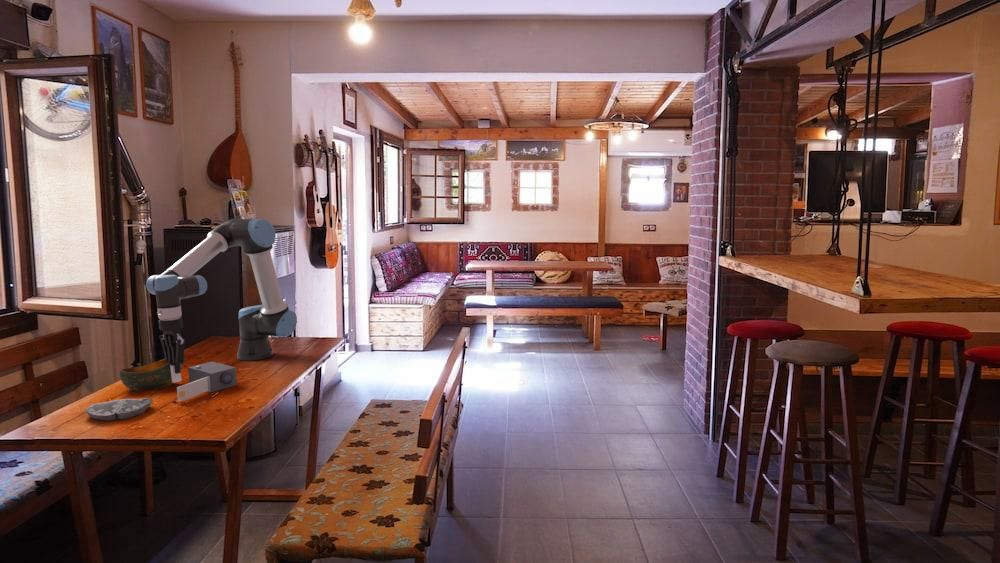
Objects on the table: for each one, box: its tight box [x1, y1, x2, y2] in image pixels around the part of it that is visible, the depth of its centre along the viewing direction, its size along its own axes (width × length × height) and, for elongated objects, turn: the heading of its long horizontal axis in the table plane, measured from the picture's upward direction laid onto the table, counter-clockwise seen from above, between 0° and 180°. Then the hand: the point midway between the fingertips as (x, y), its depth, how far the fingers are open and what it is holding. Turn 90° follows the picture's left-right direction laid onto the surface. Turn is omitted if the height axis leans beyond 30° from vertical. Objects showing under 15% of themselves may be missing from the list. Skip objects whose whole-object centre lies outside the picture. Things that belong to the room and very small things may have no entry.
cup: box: [119, 358, 185, 392], centre depth 241 cm, size 13×20×10 cm, turn 97°
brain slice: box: [84, 397, 153, 421], centre depth 212 cm, size 20×17×3 cm
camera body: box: [187, 361, 238, 393], centre depth 243 cm, size 10×18×8 cm, turn 56°
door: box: [176, 376, 211, 403], centre depth 228 cm, size 2×14×6 cm, turn 160°
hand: (176, 381), depth 229 cm, fingers closed
